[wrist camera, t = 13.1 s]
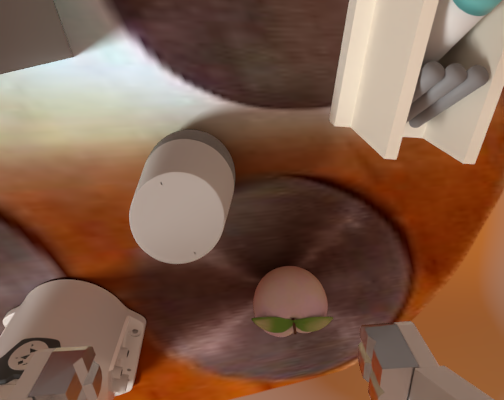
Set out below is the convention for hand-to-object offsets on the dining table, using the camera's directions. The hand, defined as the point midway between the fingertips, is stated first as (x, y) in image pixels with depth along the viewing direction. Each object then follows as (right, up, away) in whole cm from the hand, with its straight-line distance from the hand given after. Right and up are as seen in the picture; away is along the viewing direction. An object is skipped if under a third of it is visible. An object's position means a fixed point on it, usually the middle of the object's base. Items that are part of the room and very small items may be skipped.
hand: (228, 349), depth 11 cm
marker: (+15, +17, +23) cm, 32 cm away
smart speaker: (-6, +9, +30) cm, 32 cm away
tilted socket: (+15, +19, +26) cm, 36 cm away
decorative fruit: (+5, -5, +38) cm, 39 cm away
